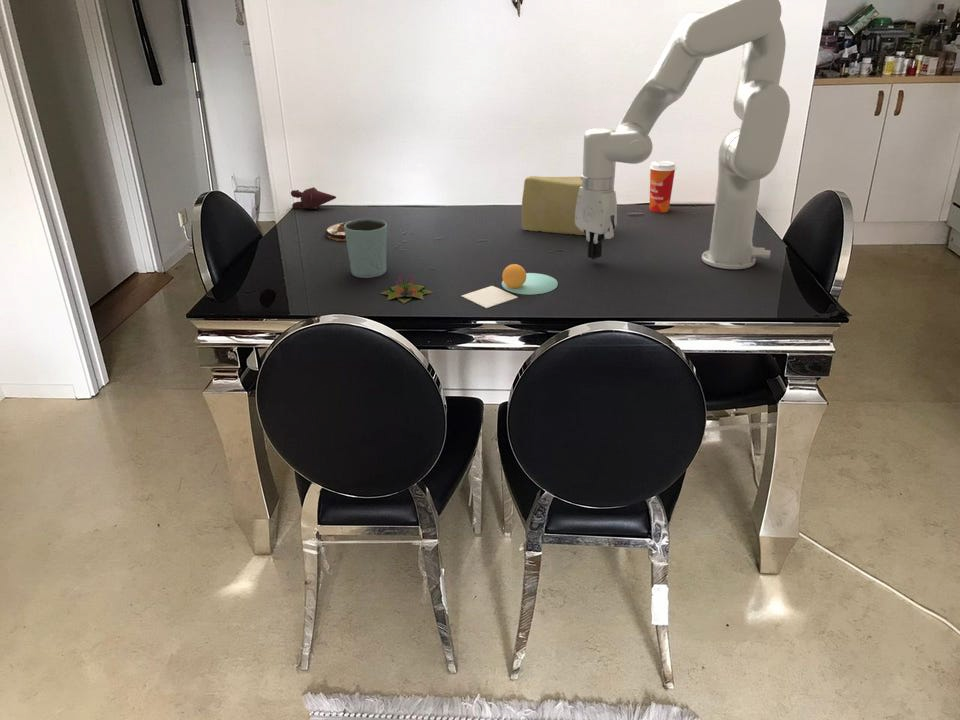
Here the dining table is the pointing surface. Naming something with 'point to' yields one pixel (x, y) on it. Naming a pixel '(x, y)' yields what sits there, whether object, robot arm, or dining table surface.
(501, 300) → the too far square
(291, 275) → the dining table surface
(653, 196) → the paper cup
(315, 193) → the icecream
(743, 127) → the robot arm
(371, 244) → the green ceramic cup
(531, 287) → the disc
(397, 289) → the lily flower
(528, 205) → the cheese
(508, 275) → the ball
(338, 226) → the golden round pastry
